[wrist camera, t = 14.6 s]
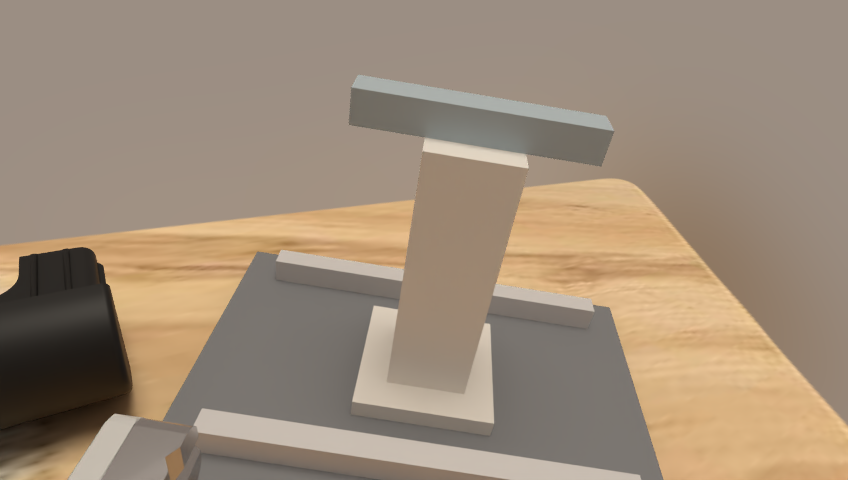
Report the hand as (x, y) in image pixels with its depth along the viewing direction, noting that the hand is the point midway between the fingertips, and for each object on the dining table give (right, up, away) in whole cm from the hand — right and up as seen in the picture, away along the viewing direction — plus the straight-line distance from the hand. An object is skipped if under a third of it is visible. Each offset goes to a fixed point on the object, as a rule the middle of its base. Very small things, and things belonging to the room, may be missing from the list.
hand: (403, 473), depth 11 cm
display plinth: (0, -4, +20) cm, 20 cm away
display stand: (0, -3, +19) cm, 19 cm away
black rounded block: (-20, -4, +16) cm, 25 cm away
